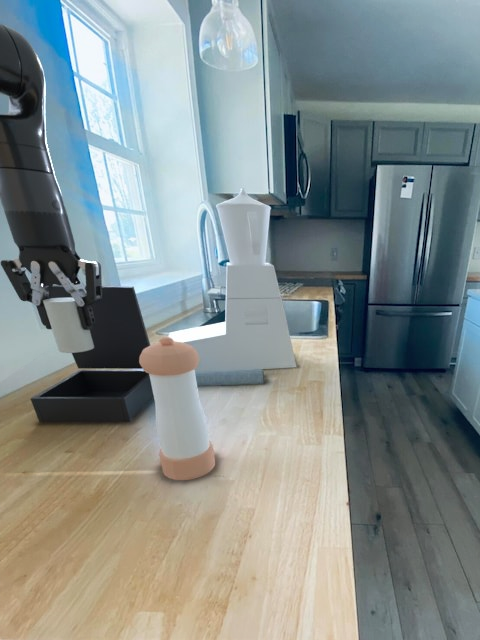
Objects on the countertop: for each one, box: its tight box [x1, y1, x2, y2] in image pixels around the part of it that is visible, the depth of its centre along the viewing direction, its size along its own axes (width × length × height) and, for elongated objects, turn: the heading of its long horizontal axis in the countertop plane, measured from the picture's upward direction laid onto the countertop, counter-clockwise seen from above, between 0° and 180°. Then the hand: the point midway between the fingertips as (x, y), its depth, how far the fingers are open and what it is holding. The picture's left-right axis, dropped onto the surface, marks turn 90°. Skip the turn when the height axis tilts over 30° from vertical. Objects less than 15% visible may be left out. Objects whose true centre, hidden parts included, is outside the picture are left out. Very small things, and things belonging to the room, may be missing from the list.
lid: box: [50, 284, 151, 370], centre depth 73 cm, size 16×16×6 cm
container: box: [43, 298, 94, 354], centre depth 61 cm, size 5×5×8 cm
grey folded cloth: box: [195, 369, 265, 387], centre depth 84 cm, size 23×7×3 cm, turn 100°
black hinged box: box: [30, 369, 154, 424], centre depth 71 cm, size 16×16×5 cm
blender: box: [167, 188, 297, 372], centre depth 90 cm, size 33×18×40 cm, turn 104°
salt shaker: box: [139, 336, 216, 481], centre depth 49 cm, size 7×7×19 cm
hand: (70, 328), depth 61 cm, fingers closed on container, 5 cm apart
